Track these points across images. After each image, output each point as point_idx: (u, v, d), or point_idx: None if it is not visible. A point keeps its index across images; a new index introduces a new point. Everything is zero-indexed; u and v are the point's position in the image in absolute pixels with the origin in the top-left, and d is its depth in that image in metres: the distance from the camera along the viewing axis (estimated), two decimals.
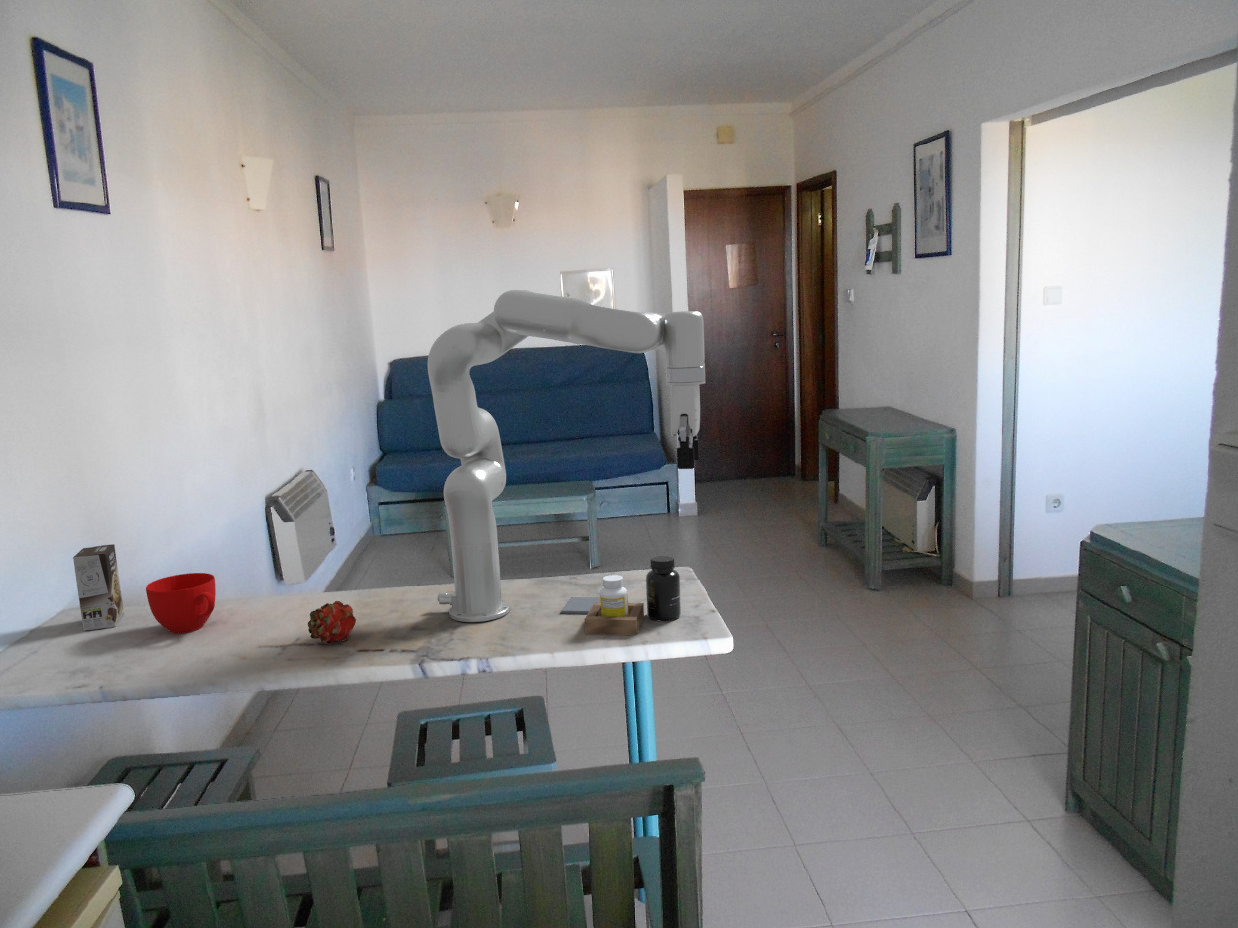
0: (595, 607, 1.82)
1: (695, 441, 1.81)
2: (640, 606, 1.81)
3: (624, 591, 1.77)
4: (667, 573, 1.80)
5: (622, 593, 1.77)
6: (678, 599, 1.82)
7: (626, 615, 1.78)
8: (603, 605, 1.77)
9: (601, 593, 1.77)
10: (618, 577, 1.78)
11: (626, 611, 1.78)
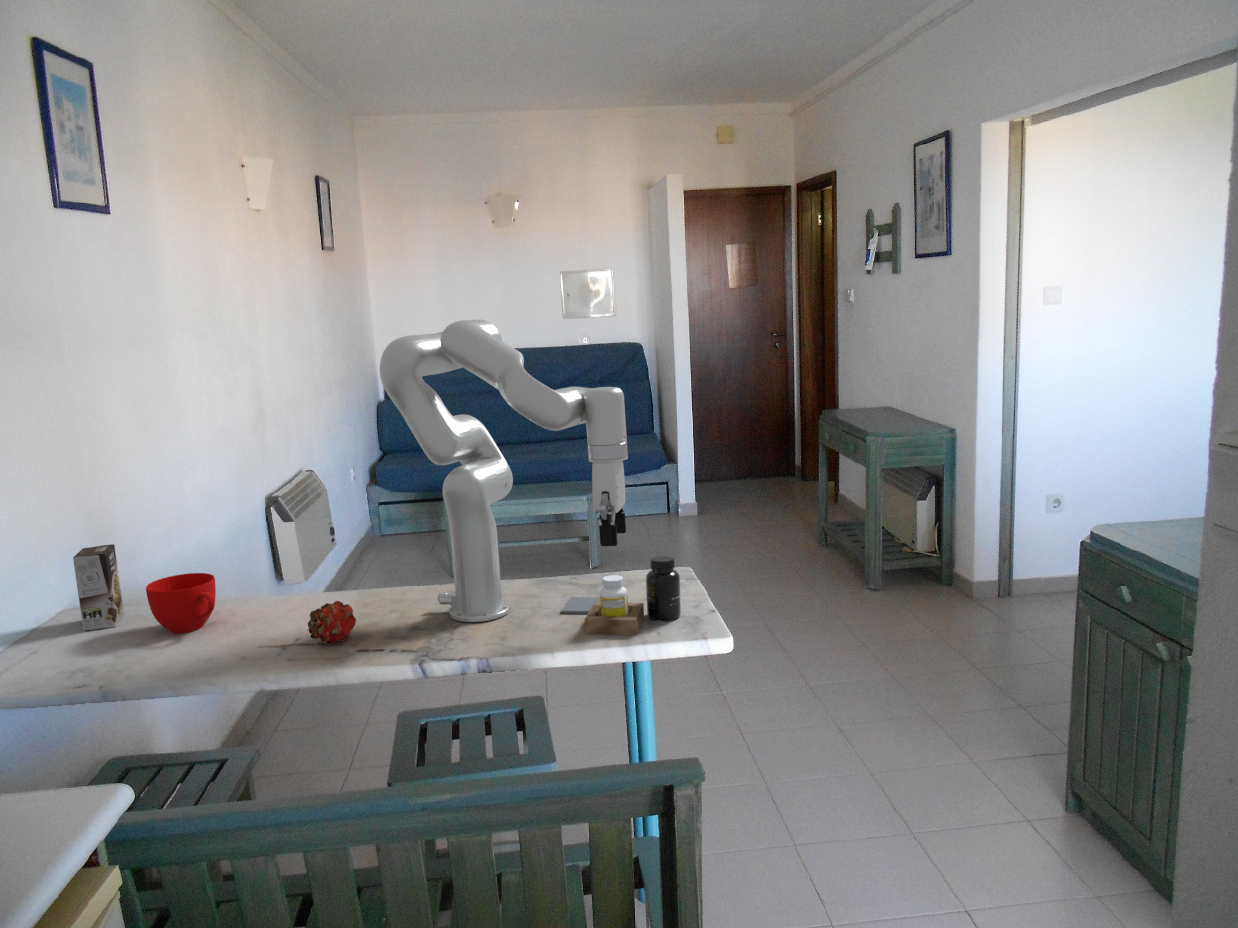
0: (595, 607, 1.82)
1: (621, 514, 1.80)
2: (640, 606, 1.81)
3: (624, 591, 1.77)
4: (667, 574, 1.80)
5: (622, 593, 1.77)
6: (678, 599, 1.82)
7: (626, 615, 1.78)
8: (603, 605, 1.77)
9: (601, 593, 1.77)
10: (618, 577, 1.78)
11: (626, 611, 1.78)
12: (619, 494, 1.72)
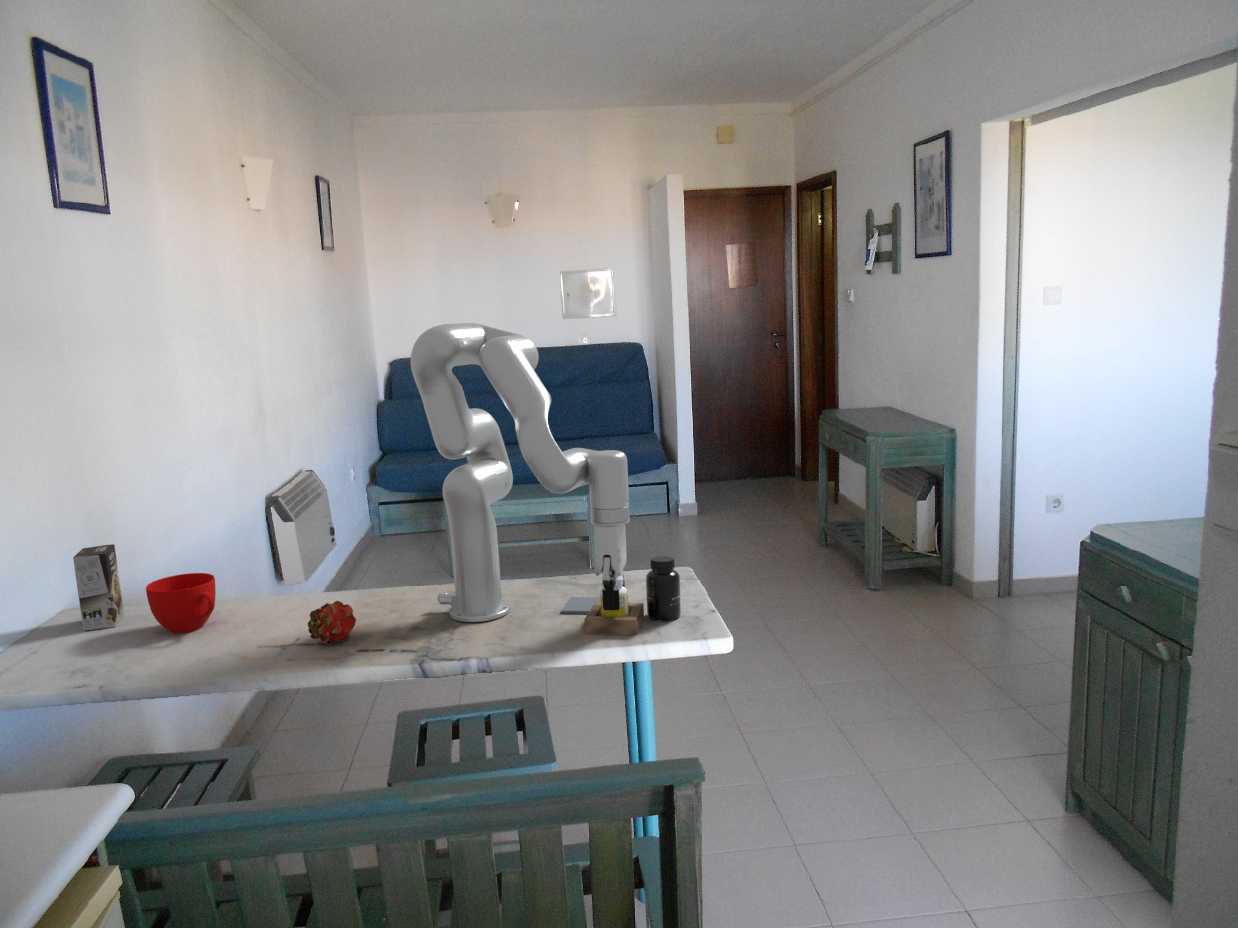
0: (595, 607, 1.82)
1: None
2: (640, 606, 1.81)
3: (624, 591, 1.77)
4: (667, 574, 1.80)
5: (622, 593, 1.77)
6: (678, 599, 1.82)
7: (626, 615, 1.78)
8: None
9: (601, 593, 1.77)
10: (618, 577, 1.78)
11: (626, 611, 1.78)
12: (620, 557, 1.74)
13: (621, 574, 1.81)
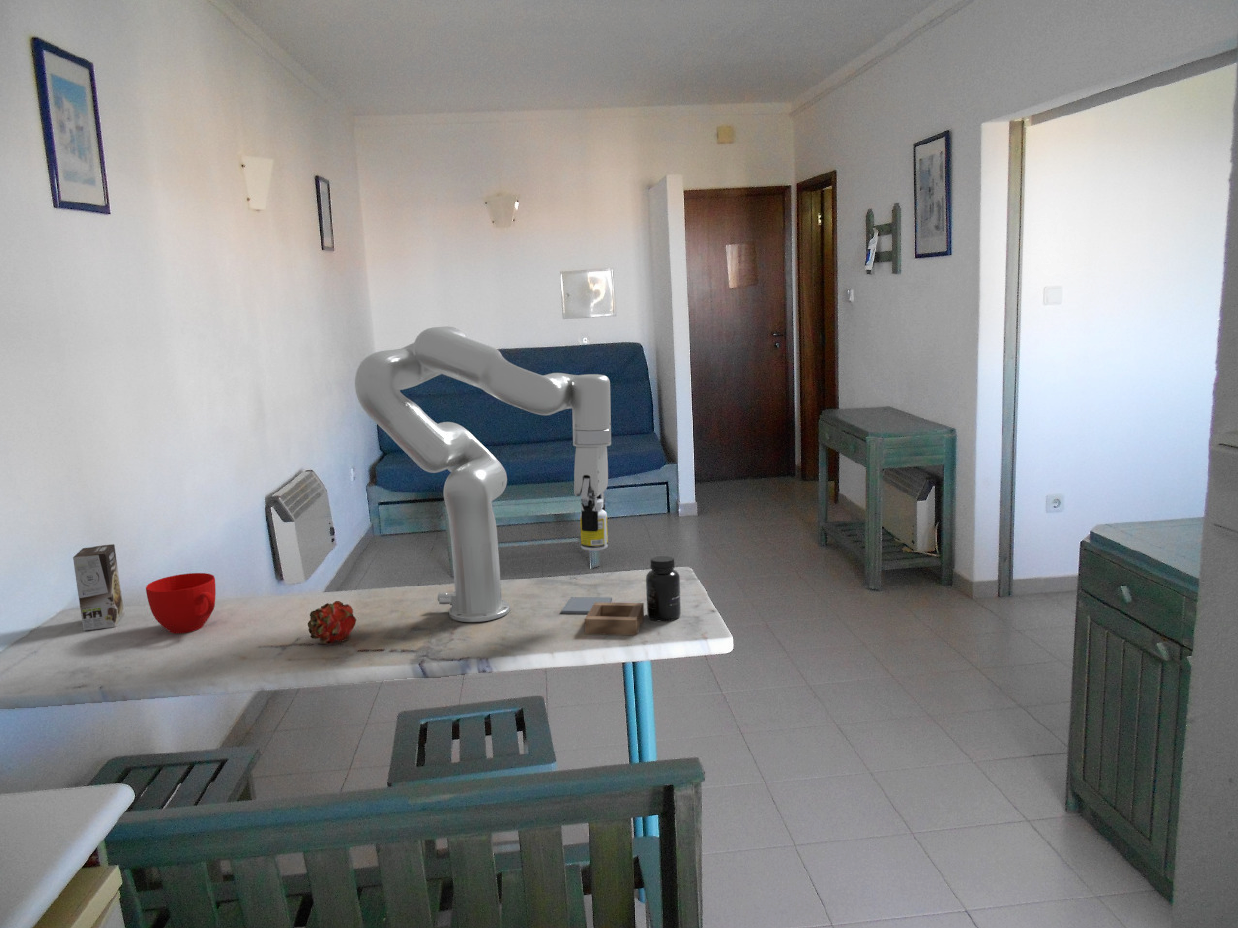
0: (595, 607, 1.82)
1: None
2: (640, 606, 1.81)
3: (603, 513, 1.81)
4: (667, 574, 1.80)
5: (601, 515, 1.80)
6: (678, 599, 1.82)
7: (605, 537, 1.81)
8: None
9: (581, 515, 1.81)
10: (598, 500, 1.82)
11: (605, 533, 1.81)
12: (600, 479, 1.77)
13: (602, 498, 1.84)
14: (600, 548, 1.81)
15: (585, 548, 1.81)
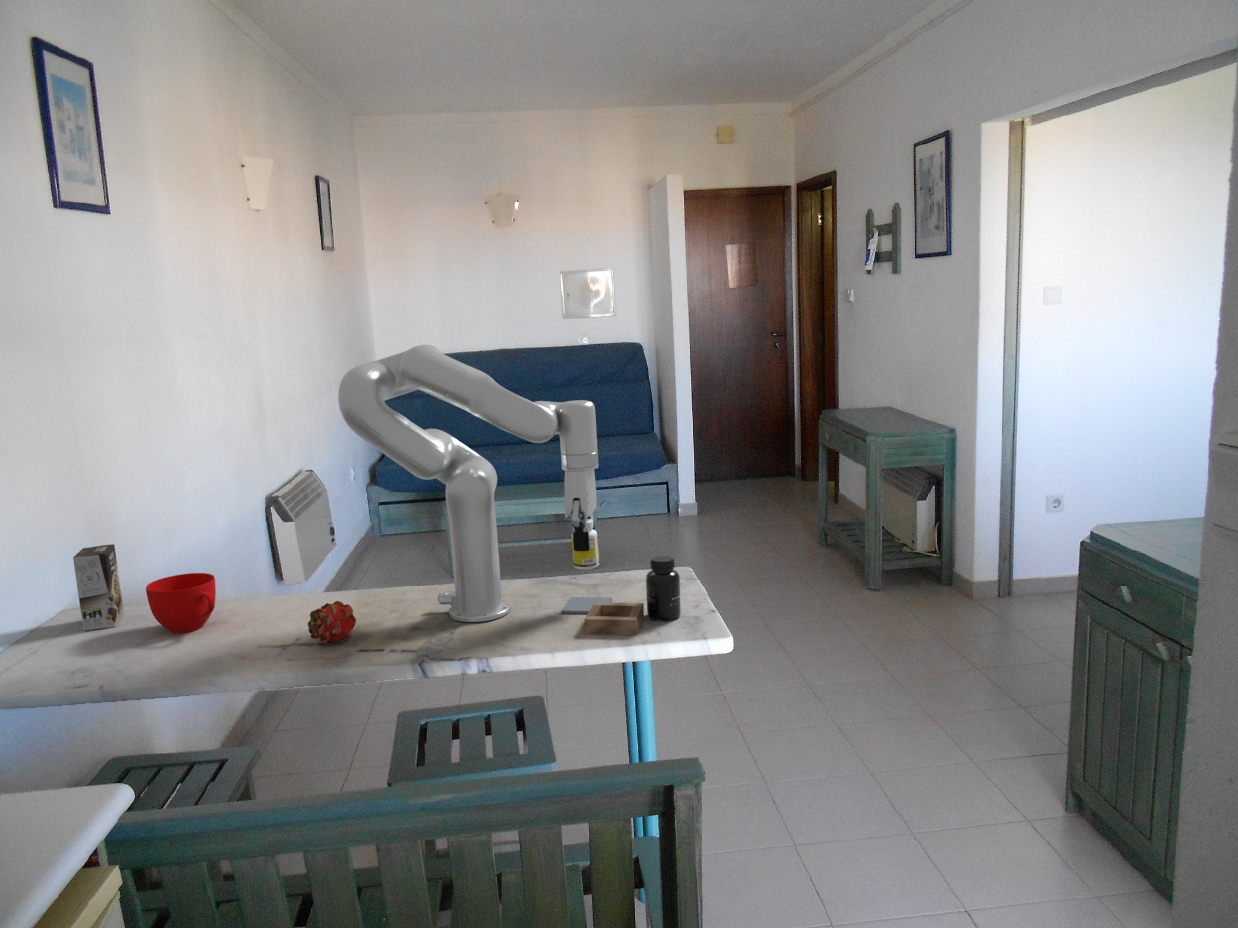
0: (595, 607, 1.82)
1: None
2: (640, 606, 1.81)
3: (593, 533, 1.88)
4: (667, 573, 1.80)
5: (592, 535, 1.87)
6: (678, 599, 1.82)
7: (596, 556, 1.89)
8: None
9: (572, 535, 1.88)
10: (588, 520, 1.89)
11: (596, 552, 1.89)
12: (589, 500, 1.85)
13: (591, 518, 1.91)
14: (592, 567, 1.88)
15: (578, 567, 1.88)
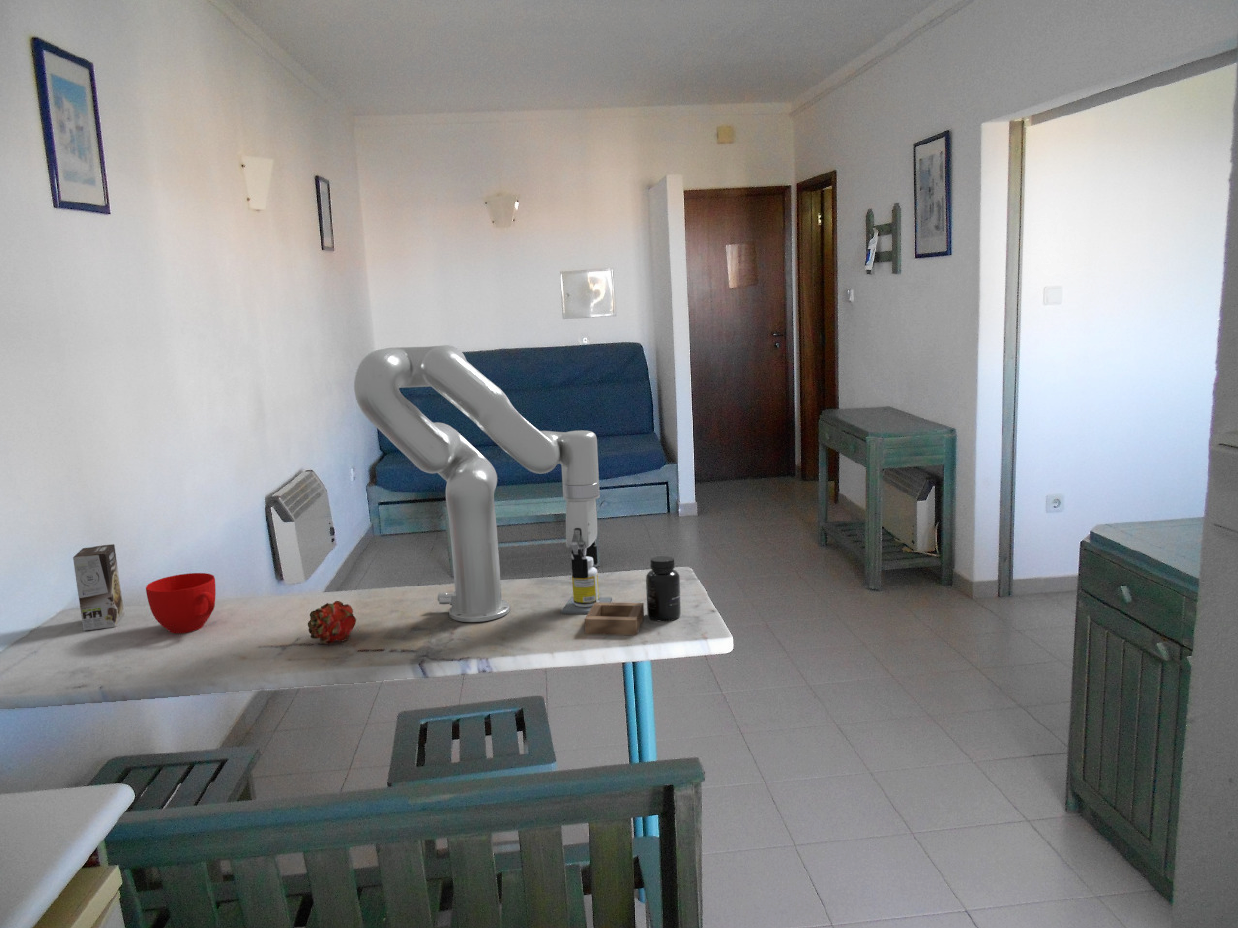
0: (595, 607, 1.82)
1: (593, 547, 1.94)
2: (640, 606, 1.81)
3: (594, 571, 1.89)
4: (667, 573, 1.80)
5: (592, 573, 1.89)
6: (678, 599, 1.82)
7: (596, 594, 1.90)
8: (575, 584, 1.89)
9: None
10: (589, 558, 1.90)
11: (596, 590, 1.90)
12: (590, 530, 1.86)
13: (594, 540, 1.94)
14: (592, 604, 1.89)
15: (578, 605, 1.90)
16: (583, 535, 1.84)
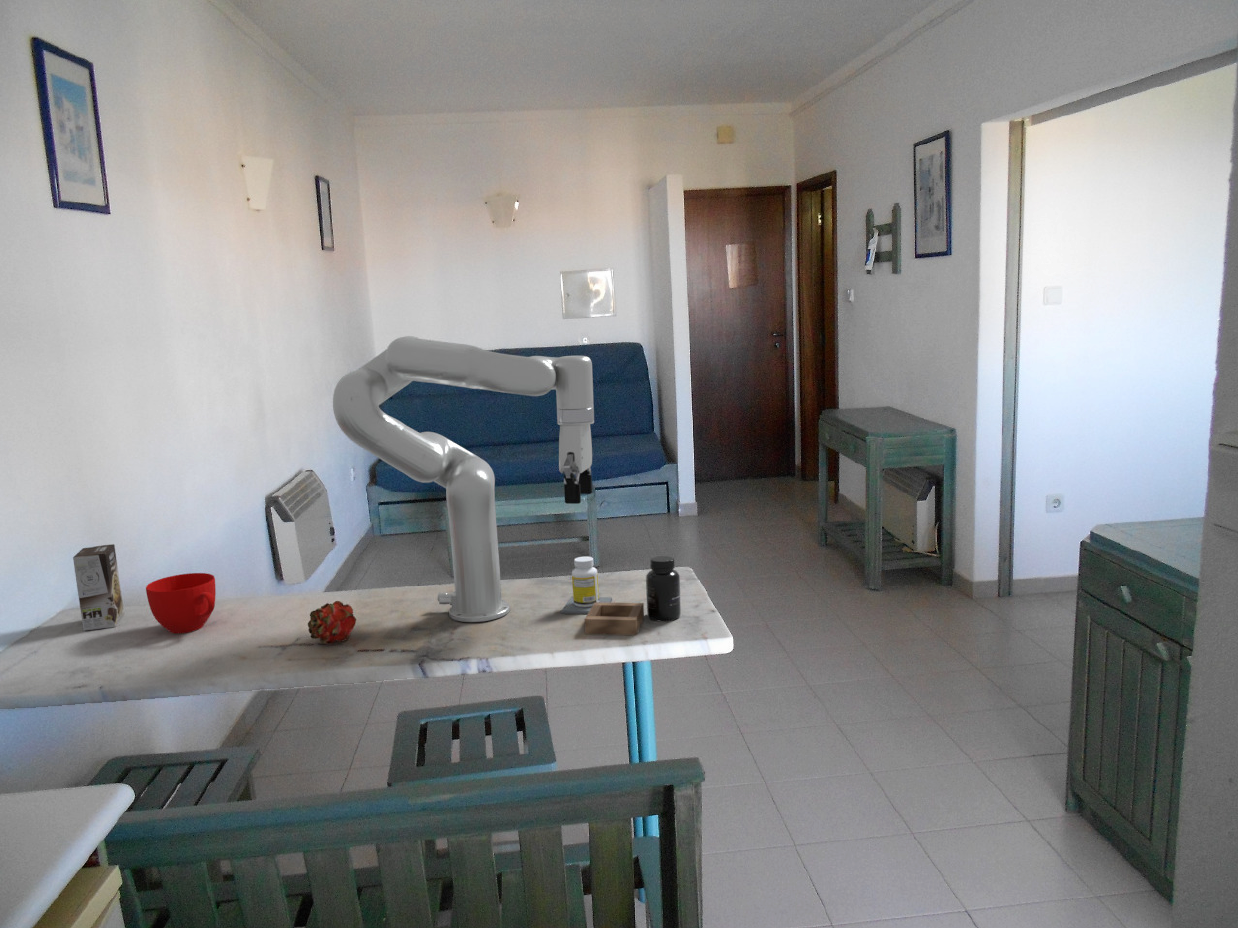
0: (595, 607, 1.82)
1: (588, 476, 1.93)
2: (640, 606, 1.81)
3: (594, 571, 1.89)
4: (667, 573, 1.80)
5: (592, 573, 1.89)
6: (678, 599, 1.82)
7: (596, 594, 1.90)
8: (575, 584, 1.89)
9: (573, 573, 1.90)
10: (589, 558, 1.90)
11: (596, 590, 1.90)
12: (584, 456, 1.84)
13: None
14: (592, 604, 1.89)
15: (578, 605, 1.90)
16: (576, 459, 1.83)
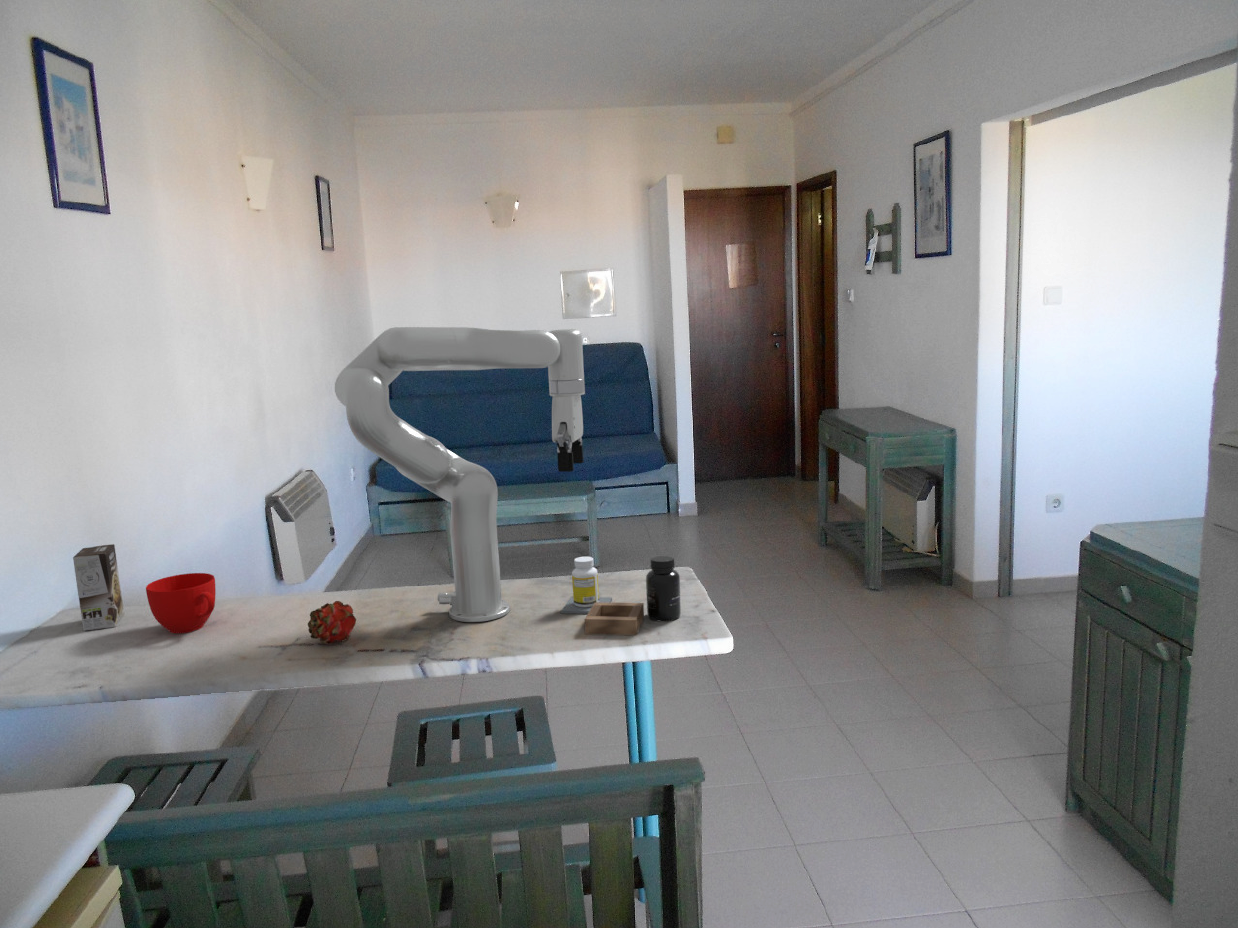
0: (595, 607, 1.82)
1: (579, 446, 2.00)
2: (640, 606, 1.81)
3: (594, 571, 1.89)
4: (667, 574, 1.80)
5: (592, 573, 1.89)
6: (678, 599, 1.82)
7: (596, 594, 1.90)
8: (575, 585, 1.89)
9: (573, 573, 1.90)
10: (589, 558, 1.90)
11: (596, 590, 1.90)
12: (576, 425, 1.92)
13: None
14: (592, 604, 1.89)
15: (578, 605, 1.90)
16: (568, 429, 1.90)
